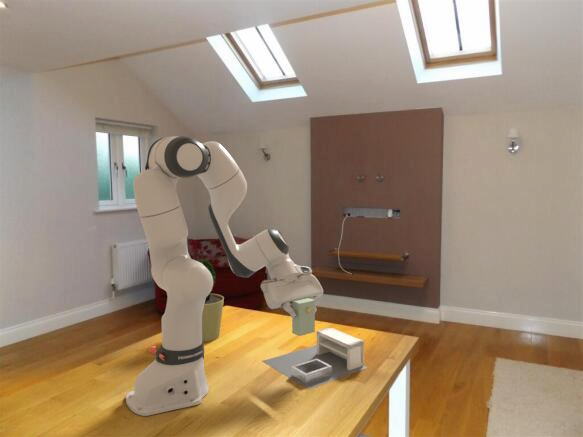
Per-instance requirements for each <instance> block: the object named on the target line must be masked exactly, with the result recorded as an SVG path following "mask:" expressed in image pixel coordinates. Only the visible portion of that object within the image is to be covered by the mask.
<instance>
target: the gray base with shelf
mask: <svg viewBox="0 0 583 437" xmlns="http://www.w3.org/2000/svg"><path fill="white" fill-rule="evenodd" d="M364 348H365V341H364V340H362V339H360V338H358V337H356V336H355V337H354V336H352V335H351V334H347V333H346V332H342V331H341V330H338V329H335V328H332V327H326V328H322V329H319V330H316V344H315V345H311V346H309V347H306V348H305V347H304V348H302V349H298V350H295V351H291V352H288V353H285V354H282V355H278V356H275V357H272V358H268V359H264V360H262V363H264V364H266V365H268V366H269V367H270V368H272V369H274V370H276V371H277V372H279V373H281V374H283V375H284V376H285V377H287V378H289V379H291V380H292V381H294V382H295V383H297V384H299V385H301V386H302V387H303V388H306V389H307V390H311V389H314V388H316V387H319V386H322V385H325V384H328V383H331V382H333V381H336V380H339V379H341V378H343V377H346V376H350V375H352V374H354V373H358V372H360V371H363V370H366V369H368V368H369V367H367V366H365V365H364V360H365V359H364V354H365V350H364ZM314 359H319V360H321V361H323V362H325V363H327V364H329V365H331V366H332V376H330V377H327V378H324V379H322V380H319V381H316V382H313V383H310V384H307V385H305V384H303V383H301V382H300V381H298V380H296V379H295V378H293V377H291V367H292V366H295V365H298V364H301V363H304V362H307V361H311V360H314ZM316 370H317V369H316ZM313 371H315V370H313ZM310 372H312V371H310ZM307 373H309V372H307Z"/></svg>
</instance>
